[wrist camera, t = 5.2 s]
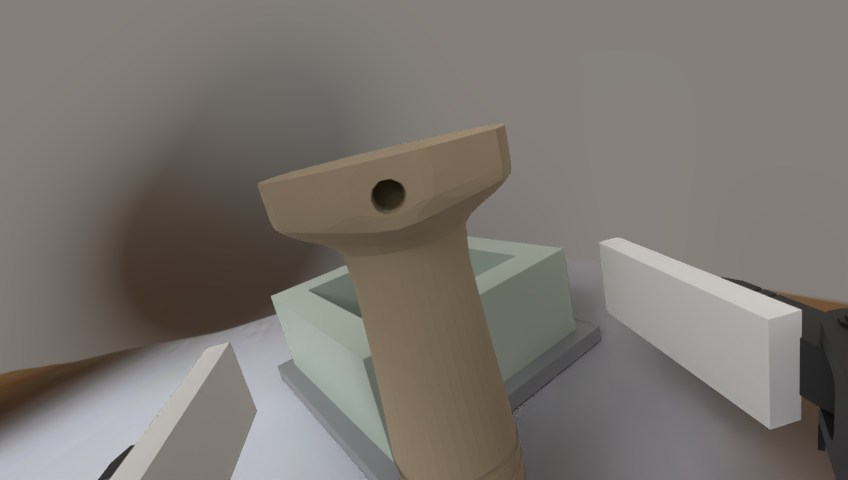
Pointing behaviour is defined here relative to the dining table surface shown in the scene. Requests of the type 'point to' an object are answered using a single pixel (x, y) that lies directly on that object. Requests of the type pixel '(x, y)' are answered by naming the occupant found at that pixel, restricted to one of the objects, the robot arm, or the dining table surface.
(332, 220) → the handle
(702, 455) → the dining table surface
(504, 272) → the holder
